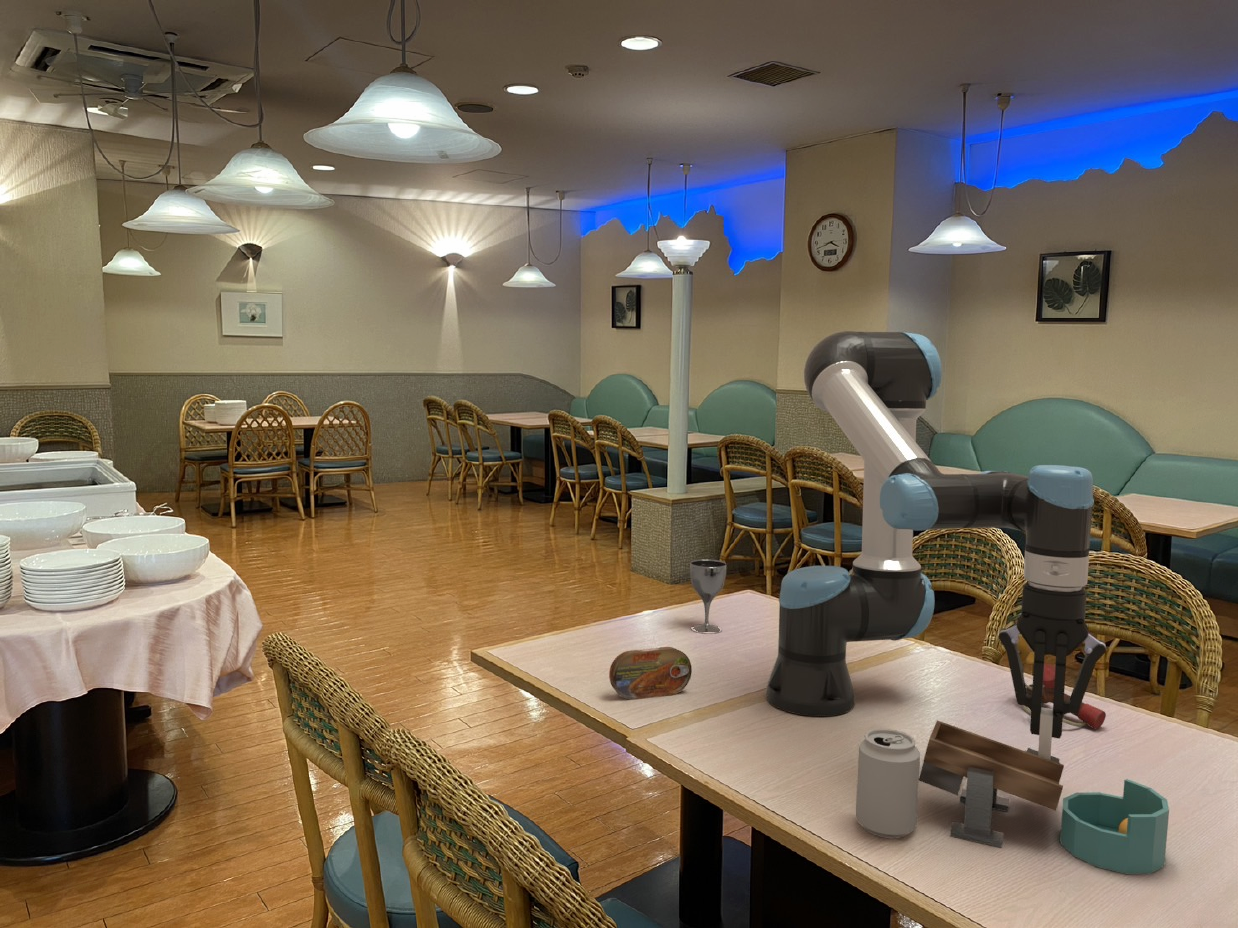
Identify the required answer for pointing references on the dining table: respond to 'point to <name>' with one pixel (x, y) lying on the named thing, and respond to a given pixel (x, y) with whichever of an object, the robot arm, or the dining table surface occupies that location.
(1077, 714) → the slingshot
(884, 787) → the can
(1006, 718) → the dining table surface
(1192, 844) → the dining table surface
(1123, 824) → the ball
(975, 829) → the stand
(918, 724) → the dining table surface
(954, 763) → the lever
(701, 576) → the wine glass
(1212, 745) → the dining table surface
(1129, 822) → the teal container
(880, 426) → the robot arm
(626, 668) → the tin
